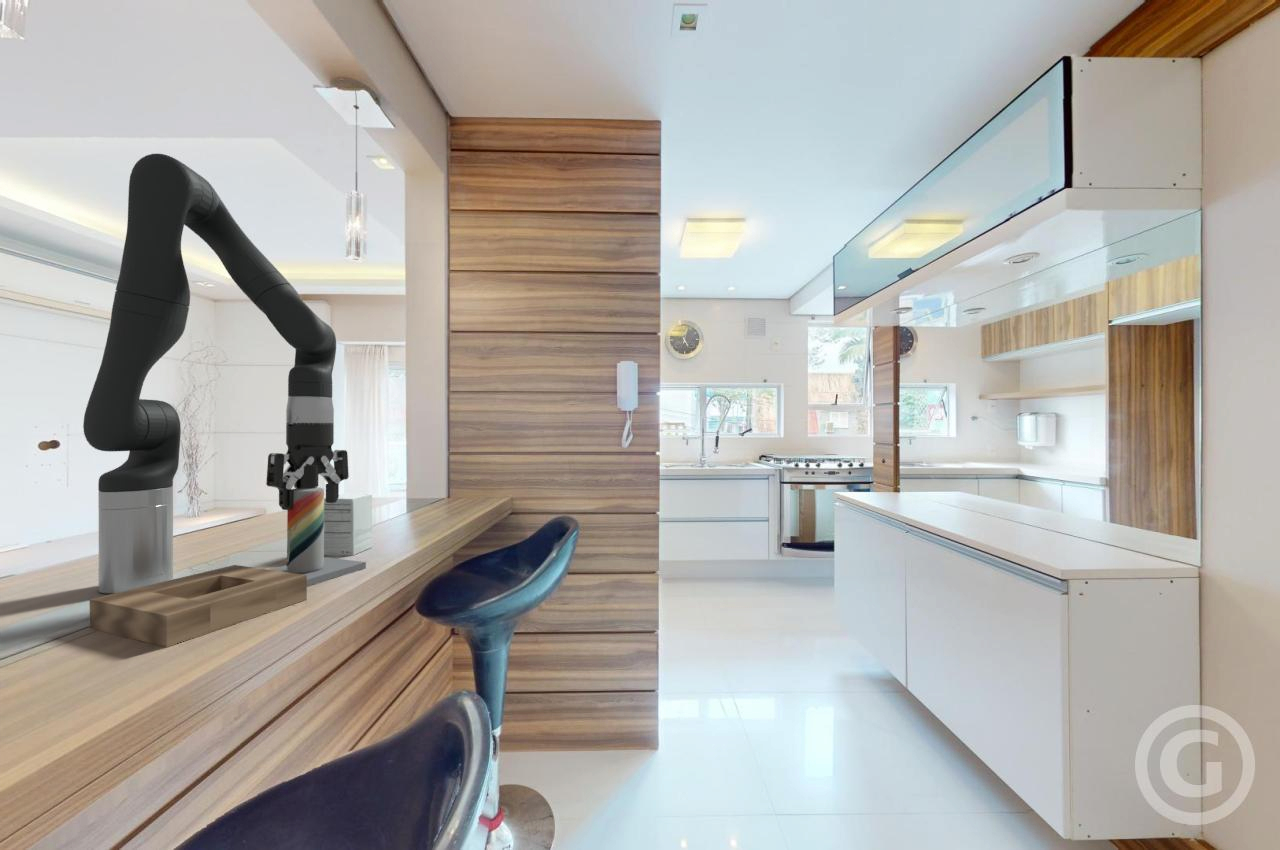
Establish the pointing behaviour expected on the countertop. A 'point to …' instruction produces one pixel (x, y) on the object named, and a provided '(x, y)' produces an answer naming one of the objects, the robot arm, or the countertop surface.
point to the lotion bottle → (306, 524)
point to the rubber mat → (329, 569)
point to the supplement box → (348, 524)
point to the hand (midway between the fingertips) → (310, 505)
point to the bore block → (195, 603)
